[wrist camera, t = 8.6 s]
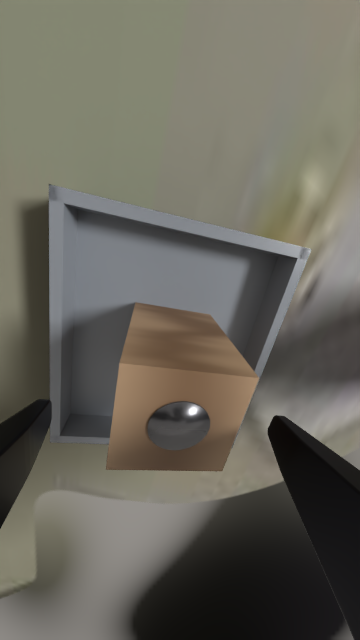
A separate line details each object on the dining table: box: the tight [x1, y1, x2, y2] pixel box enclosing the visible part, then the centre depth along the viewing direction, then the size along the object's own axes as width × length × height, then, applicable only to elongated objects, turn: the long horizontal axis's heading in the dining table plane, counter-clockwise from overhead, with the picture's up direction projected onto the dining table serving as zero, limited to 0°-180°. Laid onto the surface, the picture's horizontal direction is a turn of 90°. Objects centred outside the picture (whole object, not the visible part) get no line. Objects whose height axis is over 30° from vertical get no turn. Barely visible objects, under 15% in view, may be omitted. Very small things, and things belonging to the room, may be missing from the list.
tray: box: [49, 184, 311, 447], centre depth 14 cm, size 13×15×2 cm
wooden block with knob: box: [106, 302, 259, 471], centre depth 11 cm, size 5×5×7 cm
